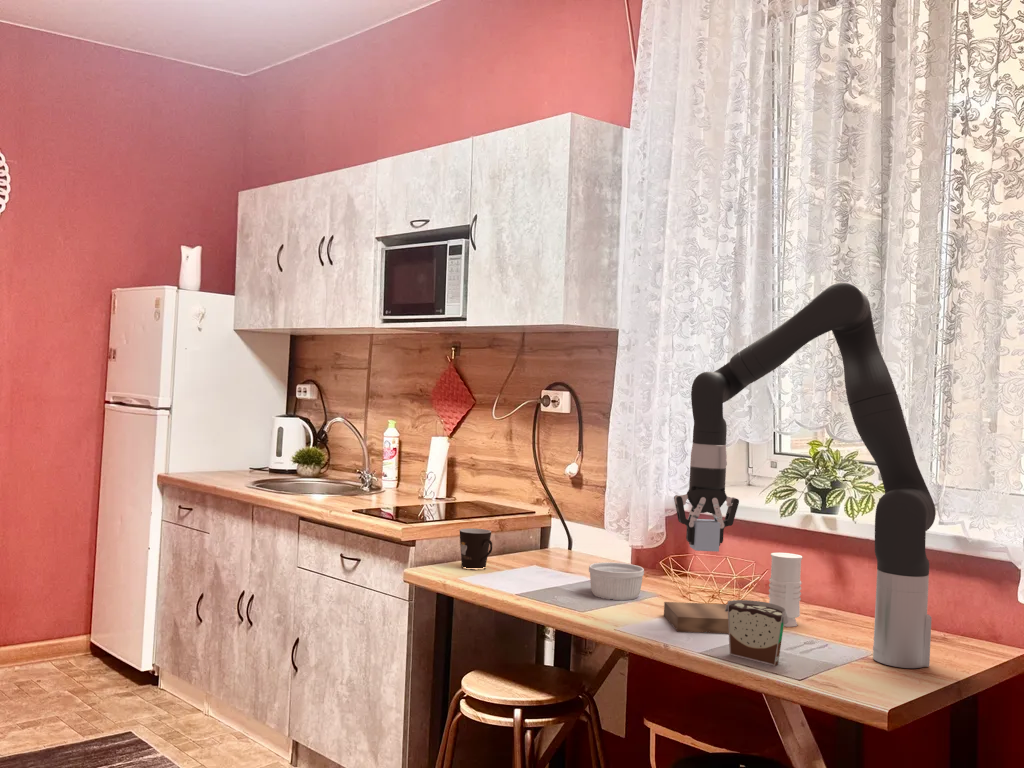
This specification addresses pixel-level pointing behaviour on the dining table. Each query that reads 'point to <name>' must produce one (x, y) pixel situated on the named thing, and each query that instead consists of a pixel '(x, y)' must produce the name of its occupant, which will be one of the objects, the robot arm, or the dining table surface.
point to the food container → (755, 630)
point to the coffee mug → (475, 547)
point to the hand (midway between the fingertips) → (704, 544)
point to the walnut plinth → (697, 617)
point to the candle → (786, 584)
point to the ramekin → (616, 580)
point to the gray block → (706, 535)
